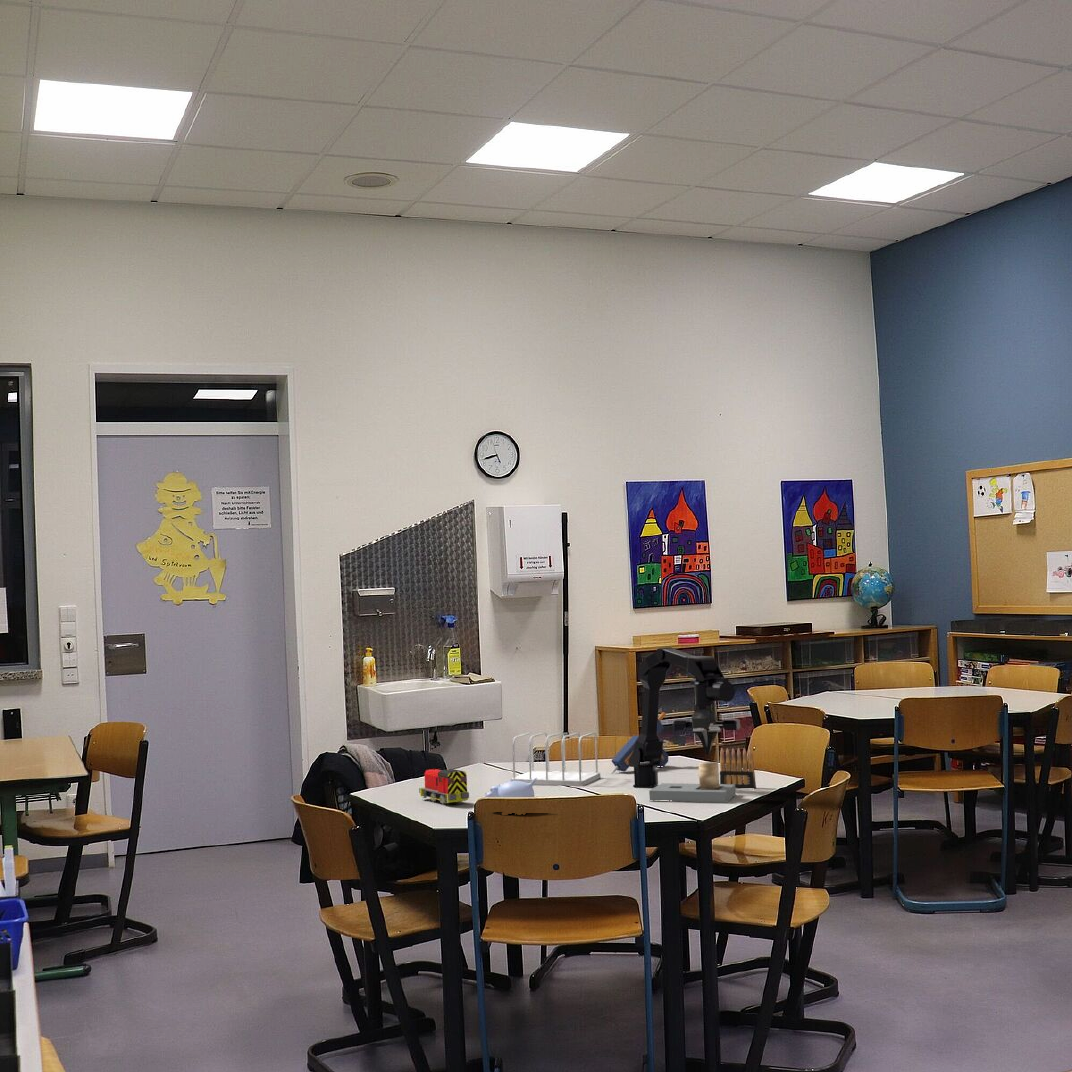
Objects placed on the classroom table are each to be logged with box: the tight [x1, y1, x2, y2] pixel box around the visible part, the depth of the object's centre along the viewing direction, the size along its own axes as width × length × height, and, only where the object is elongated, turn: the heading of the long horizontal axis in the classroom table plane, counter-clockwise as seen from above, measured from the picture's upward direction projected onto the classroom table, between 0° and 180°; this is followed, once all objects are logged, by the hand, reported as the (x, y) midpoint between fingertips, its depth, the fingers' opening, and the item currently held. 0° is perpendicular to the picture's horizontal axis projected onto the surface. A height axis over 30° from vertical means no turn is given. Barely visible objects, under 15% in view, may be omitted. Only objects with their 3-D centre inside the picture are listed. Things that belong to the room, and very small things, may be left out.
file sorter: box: [510, 731, 601, 787], centre depth 384 cm, size 25×17×16 cm
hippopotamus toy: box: [484, 778, 537, 798], centre depth 328 cm, size 11×15×10 cm
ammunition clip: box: [719, 747, 757, 789], centre depth 355 cm, size 11×2×12 cm, turn 65°
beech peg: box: [698, 761, 720, 790], centre depth 338 cm, size 6×6×10 cm
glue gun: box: [610, 711, 669, 775], centre depth 403 cm, size 6×31×15 cm
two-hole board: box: [649, 782, 737, 804], centre depth 339 cm, size 22×14×3 cm, turn 69°
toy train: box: [418, 767, 470, 805], centre depth 350 cm, size 7×19×10 cm, turn 33°
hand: (707, 754), depth 338 cm, fingers closed
